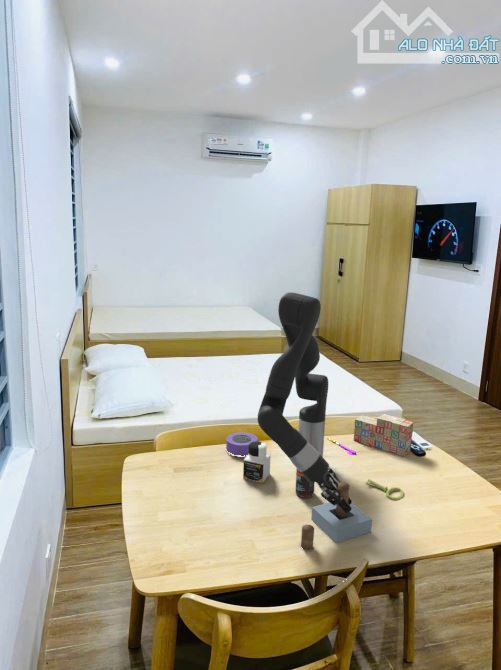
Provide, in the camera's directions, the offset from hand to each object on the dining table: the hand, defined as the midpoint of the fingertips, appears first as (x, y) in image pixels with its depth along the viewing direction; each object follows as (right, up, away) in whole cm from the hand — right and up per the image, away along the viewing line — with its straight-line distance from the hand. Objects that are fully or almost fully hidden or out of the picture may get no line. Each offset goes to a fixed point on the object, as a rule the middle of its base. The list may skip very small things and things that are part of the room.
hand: (349, 507), depth 140 cm
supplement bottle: (-11, -2, +18) cm, 21 cm away
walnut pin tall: (-2, -4, +1) cm, 5 cm away
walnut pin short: (-13, -8, -8) cm, 17 cm away
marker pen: (+7, +4, +53) cm, 54 cm away
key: (+16, -3, +22) cm, 27 cm away
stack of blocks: (+24, +5, +55) cm, 60 cm away
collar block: (-2, -6, +2) cm, 7 cm away
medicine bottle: (-26, 0, +28) cm, 38 cm away
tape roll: (-31, +5, +48) cm, 57 cm away
